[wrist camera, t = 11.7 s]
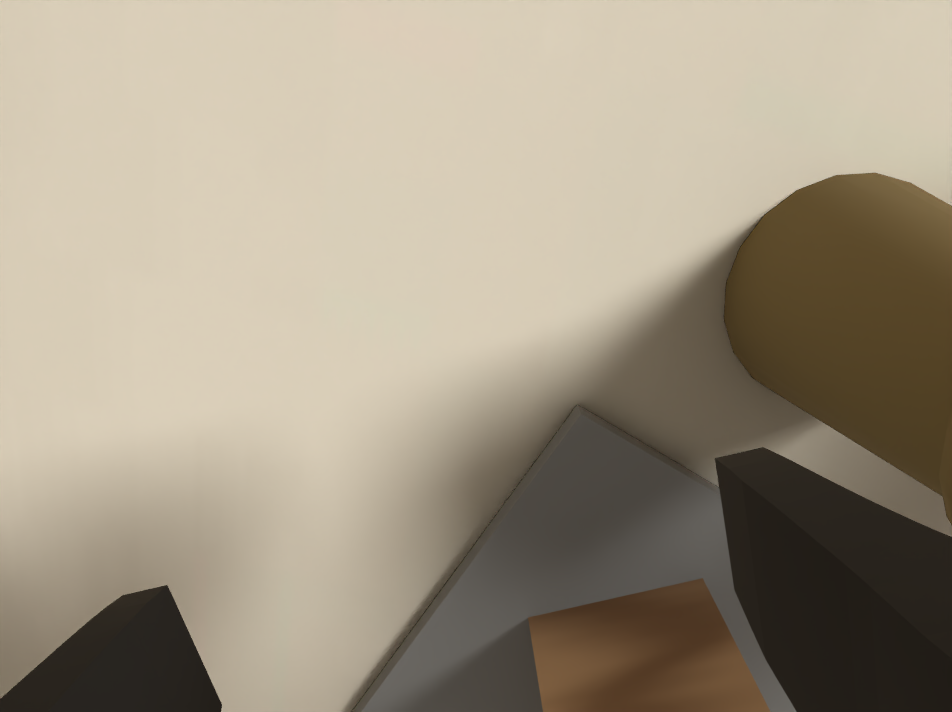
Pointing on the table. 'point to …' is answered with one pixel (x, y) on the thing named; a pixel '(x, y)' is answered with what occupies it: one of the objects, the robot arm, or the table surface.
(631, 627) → the letter cube
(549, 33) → the table surface
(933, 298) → the cork
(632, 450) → the mat
